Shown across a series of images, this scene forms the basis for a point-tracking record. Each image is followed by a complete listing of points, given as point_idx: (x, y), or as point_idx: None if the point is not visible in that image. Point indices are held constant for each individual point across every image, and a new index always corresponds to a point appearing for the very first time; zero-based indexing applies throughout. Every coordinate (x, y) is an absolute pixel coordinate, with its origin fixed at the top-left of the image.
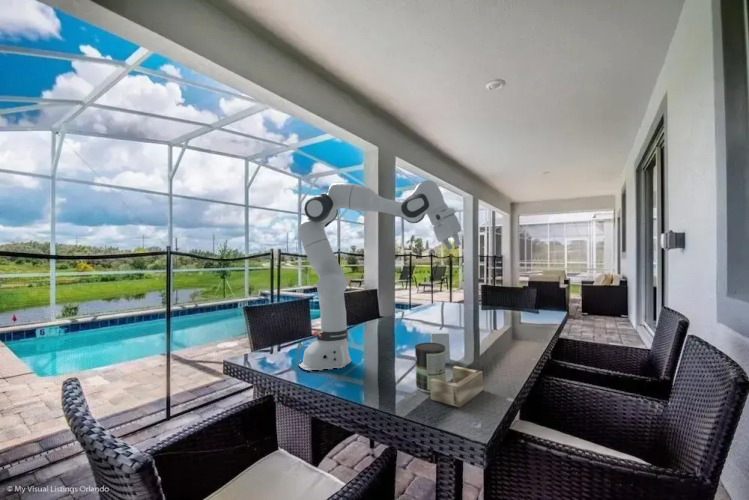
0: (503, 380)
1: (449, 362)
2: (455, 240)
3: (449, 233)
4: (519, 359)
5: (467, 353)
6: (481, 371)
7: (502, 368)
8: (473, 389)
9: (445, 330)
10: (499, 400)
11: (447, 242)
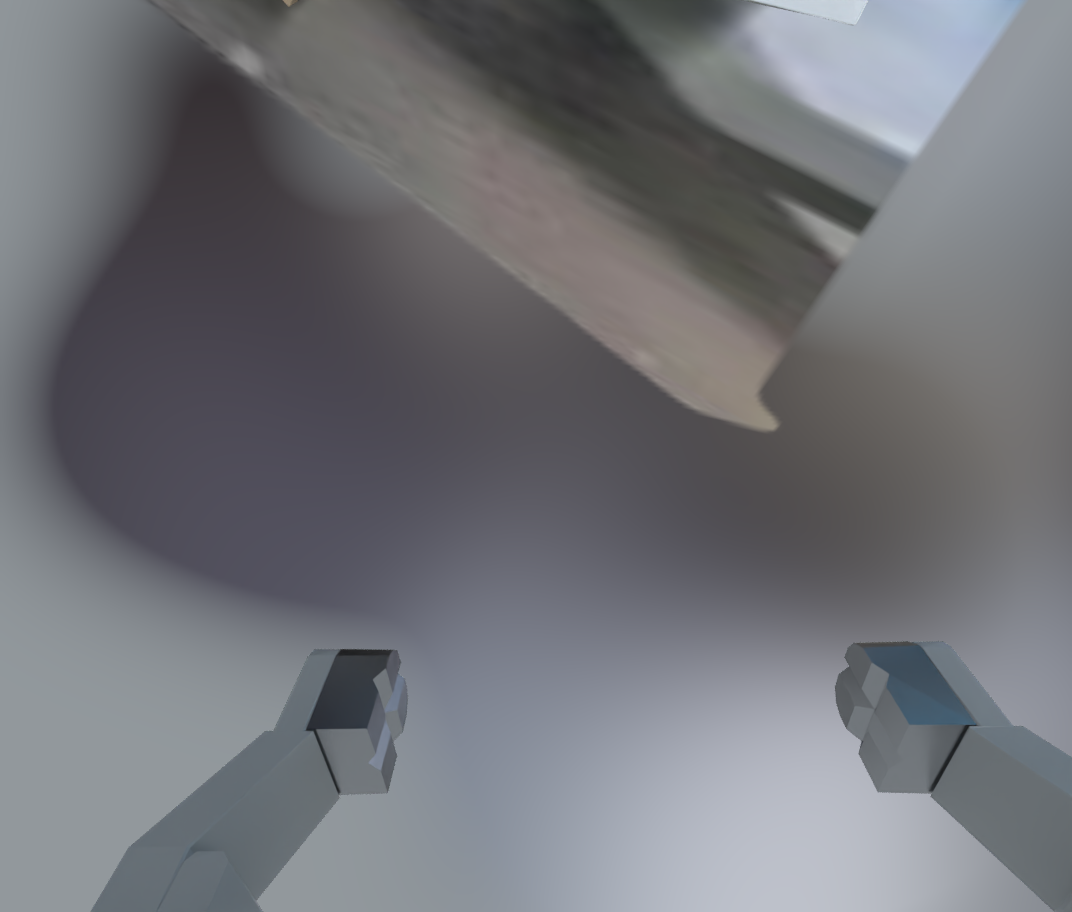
0: (434, 135)
1: None
2: (237, 769)
3: None
4: (655, 316)
5: (840, 146)
6: (290, 1)
7: (569, 203)
8: None
9: (834, 3)
10: (222, 7)
11: (1064, 881)
